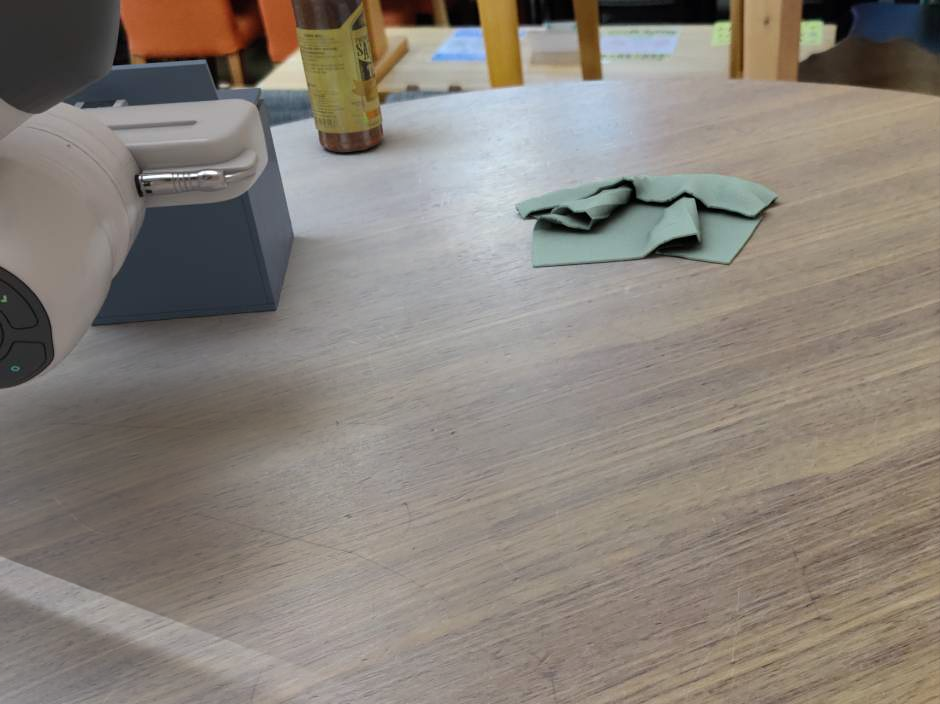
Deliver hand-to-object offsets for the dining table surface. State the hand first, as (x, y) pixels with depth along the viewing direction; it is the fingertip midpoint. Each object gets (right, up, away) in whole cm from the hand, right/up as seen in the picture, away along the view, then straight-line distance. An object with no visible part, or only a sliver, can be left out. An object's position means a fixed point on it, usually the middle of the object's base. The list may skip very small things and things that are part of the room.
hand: (106, 114), depth 74 cm
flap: (0, +1, +2) cm, 2 cm away
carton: (-1, -5, +18) cm, 18 cm away
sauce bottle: (+5, +15, +40) cm, 43 cm away
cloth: (+32, +1, +23) cm, 40 cm away
